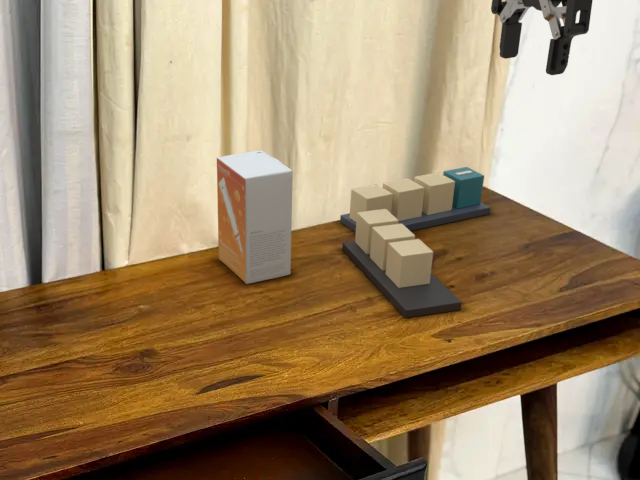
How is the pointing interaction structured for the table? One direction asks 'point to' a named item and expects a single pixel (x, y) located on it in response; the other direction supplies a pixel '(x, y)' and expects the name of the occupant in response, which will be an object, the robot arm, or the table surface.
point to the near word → (398, 265)
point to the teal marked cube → (466, 186)
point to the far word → (412, 202)
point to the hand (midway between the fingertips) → (531, 65)
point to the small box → (254, 215)
